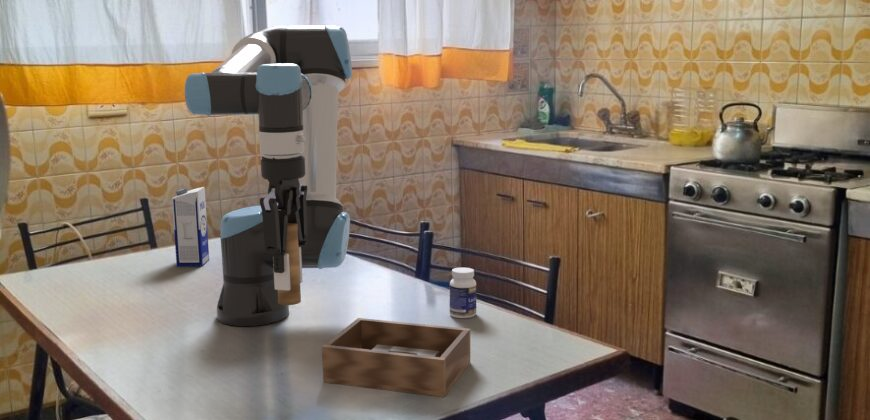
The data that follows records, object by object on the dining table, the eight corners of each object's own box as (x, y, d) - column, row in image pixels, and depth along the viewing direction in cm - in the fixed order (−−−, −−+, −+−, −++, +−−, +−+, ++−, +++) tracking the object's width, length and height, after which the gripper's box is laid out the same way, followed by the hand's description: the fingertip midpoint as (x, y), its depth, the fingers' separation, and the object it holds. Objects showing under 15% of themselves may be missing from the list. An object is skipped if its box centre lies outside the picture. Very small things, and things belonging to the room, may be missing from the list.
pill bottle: (474, 320, 186) (474, 274, 183) (447, 318, 187) (447, 272, 185) (478, 311, 191) (478, 266, 189) (452, 310, 192) (452, 265, 190)
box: (323, 382, 154) (321, 346, 152) (359, 350, 169) (358, 317, 167) (444, 397, 147) (443, 360, 146) (470, 362, 162) (470, 328, 161)
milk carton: (202, 266, 229) (197, 190, 225) (176, 266, 229) (171, 190, 225) (209, 259, 236) (204, 185, 232) (184, 259, 236) (179, 185, 232)
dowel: (274, 304, 156) (270, 227, 153) (284, 297, 160) (281, 221, 157) (294, 306, 155) (291, 228, 152) (304, 299, 159) (301, 223, 156)
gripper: (278, 163, 143) (285, 302, 148) (323, 148, 159) (328, 274, 164) (237, 161, 145) (245, 298, 150) (285, 147, 161) (291, 270, 166)
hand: (288, 285), depth 157 cm, fingers closed on dowel, 4 cm apart
